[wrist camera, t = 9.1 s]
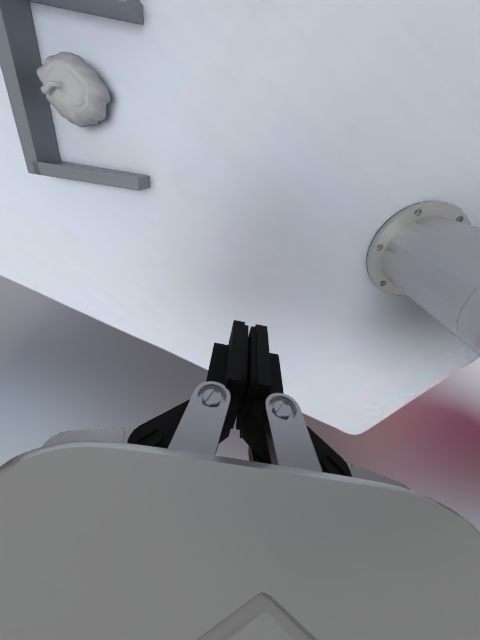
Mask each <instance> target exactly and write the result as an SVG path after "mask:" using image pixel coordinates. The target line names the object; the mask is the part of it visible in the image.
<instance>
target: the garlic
mask: <svg viewBox="0 0 480 640" xmlns="http://www.w3.org/2000/svg"><path fill="white" fill-rule="evenodd" d="M37 75H38V77H39V79H40V81H41V82H42V83H43V86H42V87H41V91H42V92H43V93H44V94H46V98H47V100H48V101H49V102H50V103H51V104H52V105H53V106H54V107H55V108H56V110H57V111H58V112H59V114H60V115H61V116H63V117H64V118H66V119H67V120H68V121H70V122H71V123H73V124H76V125H78V126H80V127H86V126H88V125H90V124H91V125H97V123H98V122H99V121H102V120H104V119H105V117H106V105H107V104H108V103H109V102H110V94H109V92H108V89H107V87H106V86H105V85H104V84H103V82H102V81H101V80H100V78H99V75H98V73H97V72H96V71H95V70H94V69H93V68H91V67H90V66H89V65H88V64H87V63H86V62H85V61H84V59H82V58H81V57H80V56H78V55H75V54H73V53H69V52H68V53H67V52H60V53H58V54H56V55H53V56H49V57H47V59H46V60H45V63H44V64H43V66H42V67H39V68H38V69H37Z"/></svg>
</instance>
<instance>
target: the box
mask: <svg viewBox="0 0 480 640" xmlns="http://www.w3.org/2000/svg"><path fill="white" fill-rule="evenodd" d="M29 1H30V2H35V3H40V4H44V5H49V6H54V7H59V8H64V9H69V10H73V11H78V12H83V13H88V14H93V15H98V16H102V17H107V18H112V19H117V20H122V21H127V22H131V23H136V24H141V25H144V21H143V5H142V4H141V2H140V1H139V0H0V65H1V69H2V73H3V77H4V81H5V84H6V88H7V92H8V96H9V100H10V104H11V107H12V111H13V115H14V119H15V123H16V127H17V130H18V134H19V138H20V142H21V146H22V150H23V153H24V157H25V161H26V165H27V169H28V173H32V174H39V175H45V176H51V177H57V178H63V179H70V180H76V181H82V182H88V183H95V184H101V185H107V186H113V187H119V188H126V189H132V190H138V191H139V190H142V189H146V188H149V187H150V176H147V175H141V174H135V173H129V172H123V171H117V170H111V169H105V168H98V167H92V166H86V165H80V164H74V163H68V162H62V161H61V160H60V155H59V150H58V145H57V140H56V135H55V130H54V124H53V119H52V114H51V109H50V104H49V101H48V100H47V98H46V94H44V93H43V92H42V91H41V87H42V86H43V83H42V82H41V81H40V79H39V77H38V75H37V69H38V68H39V67H42V64H41V59H40V54H39V49H38V44H37V39H36V34H35V28H34V23H33V18H32V13H31V8H30V3H29Z"/></svg>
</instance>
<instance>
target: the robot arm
mask: <svg viewBox="0 0 480 640" xmlns="http://www.w3.org/2000/svg"><path fill="white" fill-rule="evenodd" d="M414 212H415V213H414ZM377 245H378V247H377ZM367 268H368V273H369V275H370V278H371V279H372V281H373V282H374V284H375V285H377V286H378V287H379V288H380V289H381V290H383V291H385V292H387V293H390V294H393V295H407V296H408V297H409V298H411V299H412V300H413V301H414V302H415V303H417V304H418V305H419V306H420V307H421V308H423V309H424V310H425V311H426V312H427V313H429V314H430V315H431V316H432V317H433V318H435V319H436V320H437V321H438V322H439V323H441V324H442V325H443V326H444V327H445V328H447V329H448V330H449V331H450V332H451V333H453V334H454V335H455V336H456V337H457V338H459V339H460V340H461V341H462V342H463V343H465V344H466V345H467V346H469V347H470V348H471V349H472V350H474V351H475V352H476V353H478V354H479V355H480V228H478V227H474V226H471V225H470V222H469V220H468V218H467V216H466V215H465V213H464V212H463V211H462V210H461V209H460V208H458V207H456V206H455V205H452V204H449V203H446V202H439V201H426V202H422V203H418V204H415V205H412V206H410V207H408V208H405V209H404V210H402V211H400V212H399V213H397V214H396V215H395V216H393V217H392V218H391V219H390V220H388V221H387V222H386V223H385V225H384V226H383V227H382V228H381V229H380V230H379V232H378V233H377V235H376V236H375V238H374V239H373V242H372V244H371V246H370V249H369V252H368V256H367ZM236 416H237V420H236V429H237V430H240V438H243V439H244V440H245V441H246V443H247V444H248V445H249V447H248V455H249V461H247V460H240V459H234V458H227V457H220V456H215V455H216V451H217V448H218V444H219V443H220V442H221V441H223V440H224V439H225V438H227V437H228V436H229V433H230V429H231V428H233V426H234V423H235V419H236ZM0 640H480V532H479V531H478V530H477V529H476V528H475V527H474V526H473V525H472V524H471V523H470V522H469V521H468V520H466V519H465V518H464V517H463V516H461V515H460V514H458V513H457V512H455V511H454V510H452V509H451V508H449V507H447V506H445V505H443V504H442V503H440V502H438V501H436V500H434V499H432V498H430V497H428V496H425V495H422V494H420V493H418V492H415V491H412V490H410V489H409V488H408V487H407V486H406V485H404V484H402V483H400V482H398V481H395V480H393V479H390V478H388V477H385V476H383V475H380V474H377V473H375V472H372V471H370V470H367V469H365V468H362V467H359V466H357V465H354V464H352V465H351V466H349V465H347V463H346V462H345V461H344V460H343V459H342V458H341V457H340V456H339V455H338V454H337V453H336V452H335V451H334V450H333V449H332V448H331V447H329V446H328V445H327V444H326V443H325V442H324V441H323V440H322V439H321V438H320V437H318V435H316V434H315V433H314V432H313V431H312V430H311V429H310V428H309V427H307V425H306V424H305V421H304V418H303V415H302V412H301V410H300V407H299V405H298V403H297V402H296V401H295V400H294V399H293V398H291V397H290V396H288V395H286V394H284V393H283V385H282V378H281V370H280V362H279V356H278V354H273V353H269V343H268V332H267V326H262V325H257V324H256V326H255V327H251V329H250V333H249V337H248V326H247V325H245V322H241V321H236V320H234V322H233V327H232V331H231V336H230V340H229V345H224V344H219V343H214V347H213V352H212V357H211V361H210V366H209V371H208V376H207V380H206V382H204V383H201V384H200V385H198V386H197V388H196V389H195V391H194V393H193V395H192V397H191V399H190V400H188V401H186V402H184V403H182V404H180V405H179V406H176V407H174V408H172V409H171V410H169V411H167V412H165V413H163V414H161V415H159V416H157V417H155V418H153V419H151V420H150V421H148V422H146V423H144V424H142V425H140V426H139V427H137V428H136V429H135V430H127V431H125V428H113V429H94V430H77V431H66V432H61V433H59V434H57V435H55V436H53V437H51V438H50V439H49V440H48V441H47V442H45V444H44V445H43V447H40V448H37V449H34V450H31V451H28V452H25V453H23V454H20V455H18V456H16V457H14V458H12V459H10V460H9V461H7V462H6V463H5V464H3V465H2V466H0Z"/></svg>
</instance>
